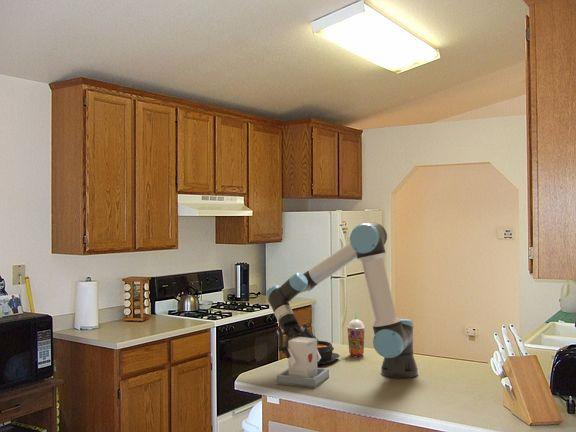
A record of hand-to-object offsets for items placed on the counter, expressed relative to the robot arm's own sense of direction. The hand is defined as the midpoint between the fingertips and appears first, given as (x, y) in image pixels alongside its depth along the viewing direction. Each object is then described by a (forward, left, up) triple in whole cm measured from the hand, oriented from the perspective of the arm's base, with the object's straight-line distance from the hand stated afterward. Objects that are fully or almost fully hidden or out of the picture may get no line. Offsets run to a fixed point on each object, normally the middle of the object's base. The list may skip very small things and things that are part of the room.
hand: (306, 361), depth 239 cm
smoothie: (-6, -50, -8) cm, 51 cm away
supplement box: (+2, -2, -6) cm, 7 cm away
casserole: (+8, -32, -9) cm, 34 cm away
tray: (+2, -2, -8) cm, 9 cm away
